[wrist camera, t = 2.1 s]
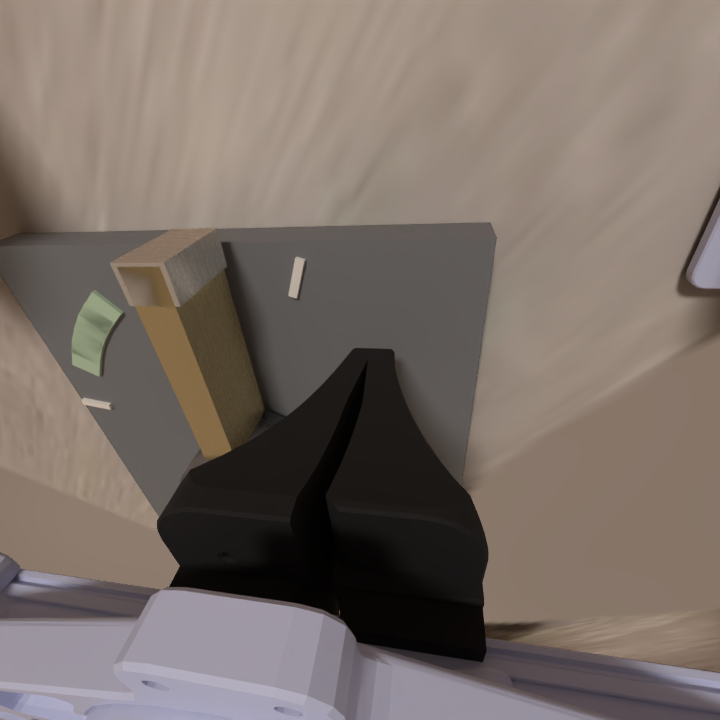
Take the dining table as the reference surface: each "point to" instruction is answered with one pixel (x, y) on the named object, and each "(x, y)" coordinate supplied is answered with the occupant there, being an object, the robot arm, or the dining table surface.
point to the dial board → (268, 326)
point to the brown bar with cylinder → (196, 336)
